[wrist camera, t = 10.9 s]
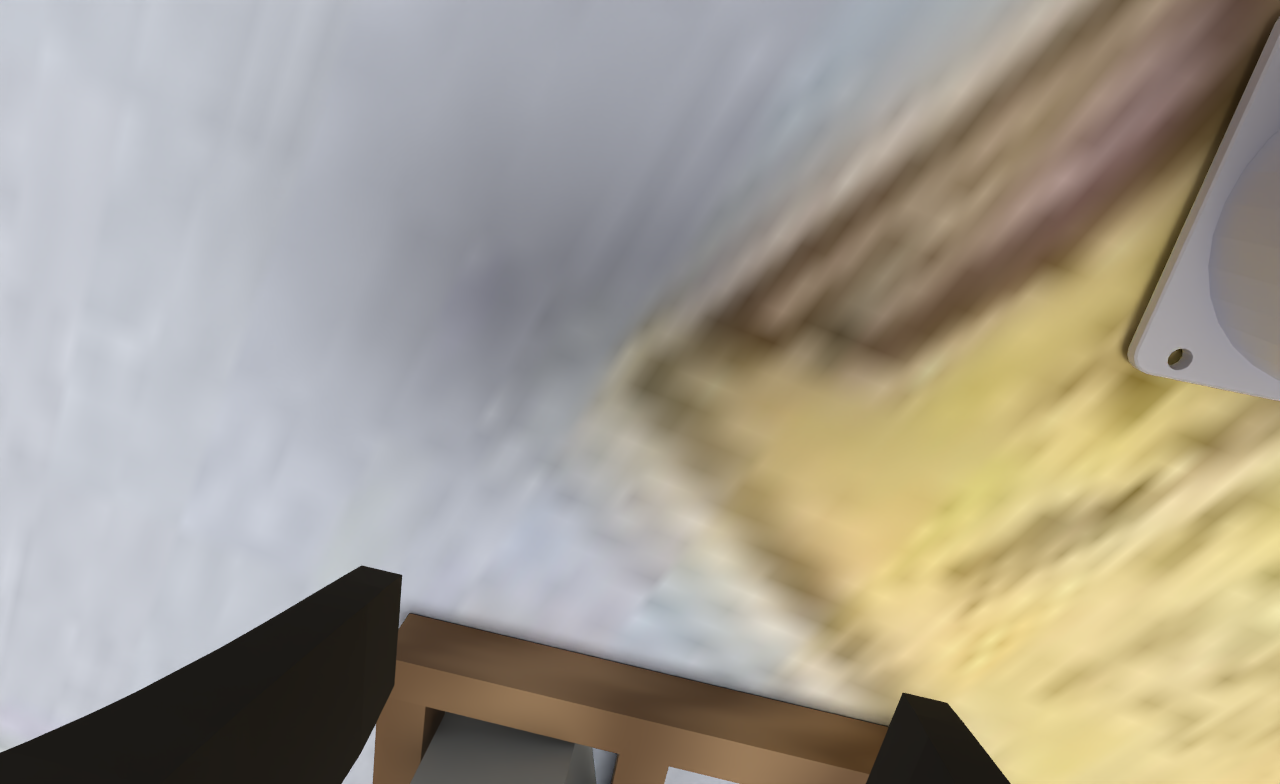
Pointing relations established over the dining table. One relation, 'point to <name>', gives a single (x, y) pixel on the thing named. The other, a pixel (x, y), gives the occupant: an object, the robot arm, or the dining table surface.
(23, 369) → the dining table surface
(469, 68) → the dining table surface
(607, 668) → the socket board
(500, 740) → the plug
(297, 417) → the dining table surface
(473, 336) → the dining table surface
